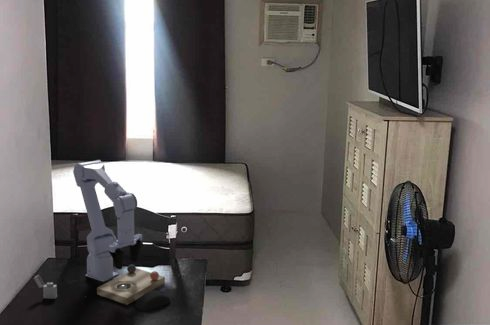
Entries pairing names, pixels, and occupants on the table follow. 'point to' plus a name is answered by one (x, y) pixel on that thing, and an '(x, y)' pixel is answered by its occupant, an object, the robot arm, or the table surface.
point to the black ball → (131, 268)
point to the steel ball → (123, 287)
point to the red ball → (154, 275)
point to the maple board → (130, 286)
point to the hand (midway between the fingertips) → (126, 264)
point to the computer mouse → (152, 300)
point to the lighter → (47, 288)
